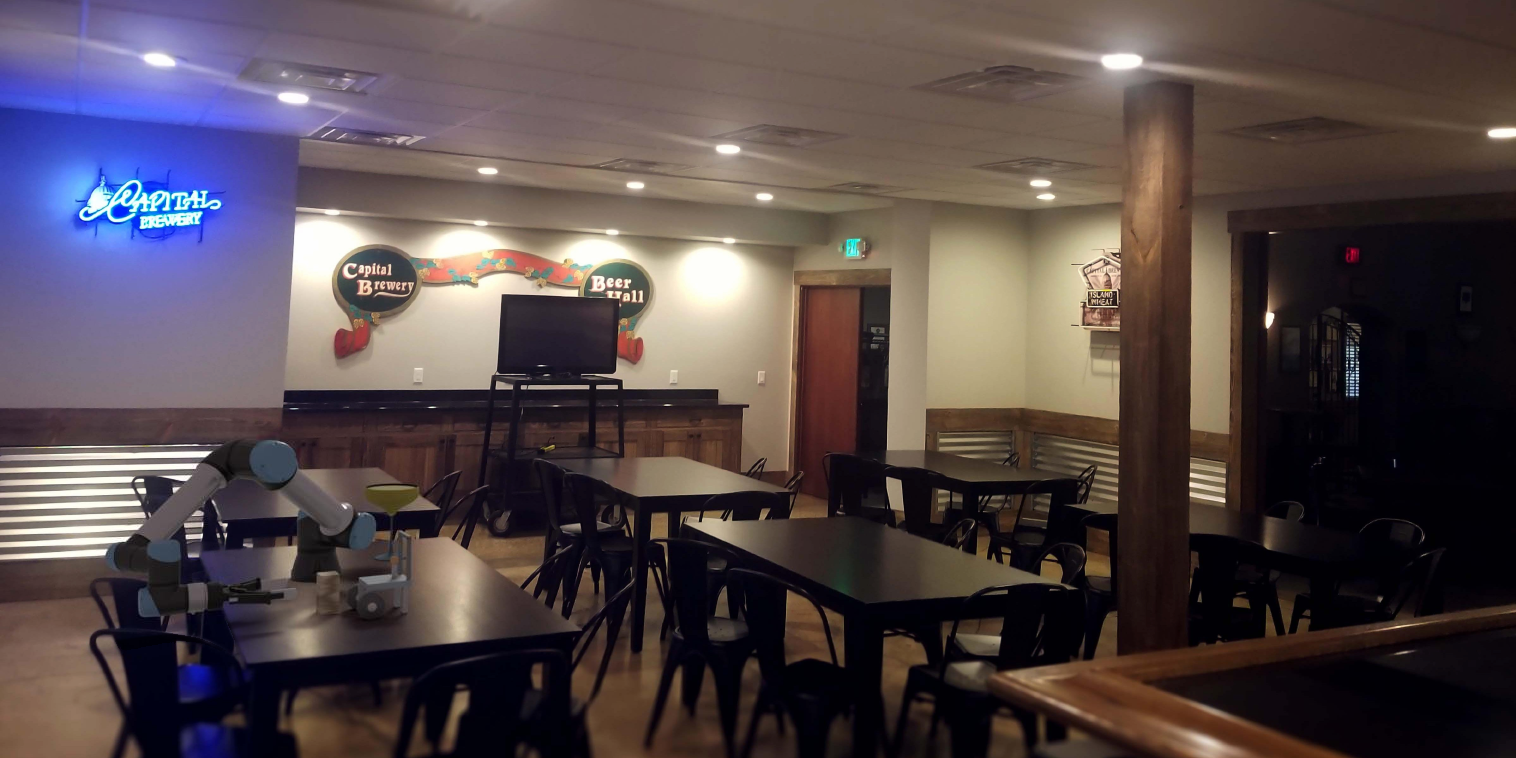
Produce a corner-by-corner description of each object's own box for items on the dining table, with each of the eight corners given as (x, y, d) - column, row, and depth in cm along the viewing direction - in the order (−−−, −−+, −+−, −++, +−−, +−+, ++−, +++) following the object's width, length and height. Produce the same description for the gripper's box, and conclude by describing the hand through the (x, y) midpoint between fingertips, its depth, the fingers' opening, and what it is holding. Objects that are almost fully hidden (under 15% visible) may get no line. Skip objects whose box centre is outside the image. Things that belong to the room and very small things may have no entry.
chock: (320, 615, 301) (320, 576, 301) (316, 611, 305) (316, 572, 305) (339, 613, 304) (339, 574, 304) (334, 609, 308) (335, 570, 308)
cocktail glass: (397, 550, 392) (398, 481, 391) (428, 557, 382) (429, 486, 381) (352, 557, 378) (353, 486, 377) (384, 565, 367) (385, 491, 366)
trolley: (358, 621, 296) (359, 542, 295) (345, 608, 309) (346, 533, 308) (414, 614, 304) (415, 537, 304) (398, 602, 317) (399, 529, 316)
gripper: (199, 600, 298) (282, 591, 309) (212, 621, 277) (300, 611, 289) (199, 573, 297) (282, 565, 309) (212, 592, 277) (300, 583, 288)
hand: (291, 587), depth 299 cm, fingers open, 13 cm apart
